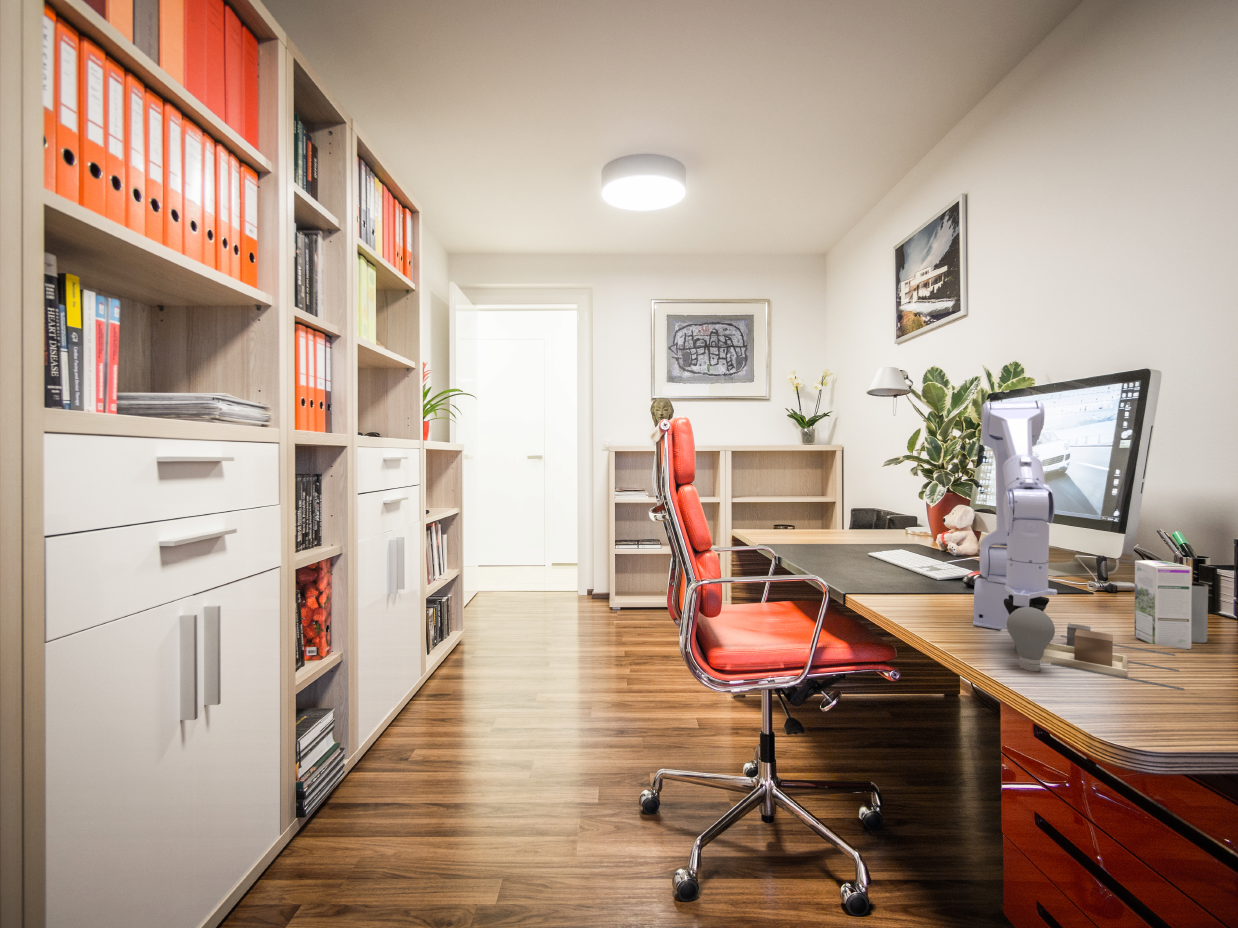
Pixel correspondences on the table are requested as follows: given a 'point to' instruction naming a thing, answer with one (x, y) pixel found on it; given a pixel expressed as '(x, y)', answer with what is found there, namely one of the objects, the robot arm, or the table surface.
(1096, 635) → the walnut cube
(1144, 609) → the syrup box
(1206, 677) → the table surface
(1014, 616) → the light bulb
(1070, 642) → the cream flat panel
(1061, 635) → the lane rails
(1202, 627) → the grey cylinder
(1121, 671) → the cream sliding tray
